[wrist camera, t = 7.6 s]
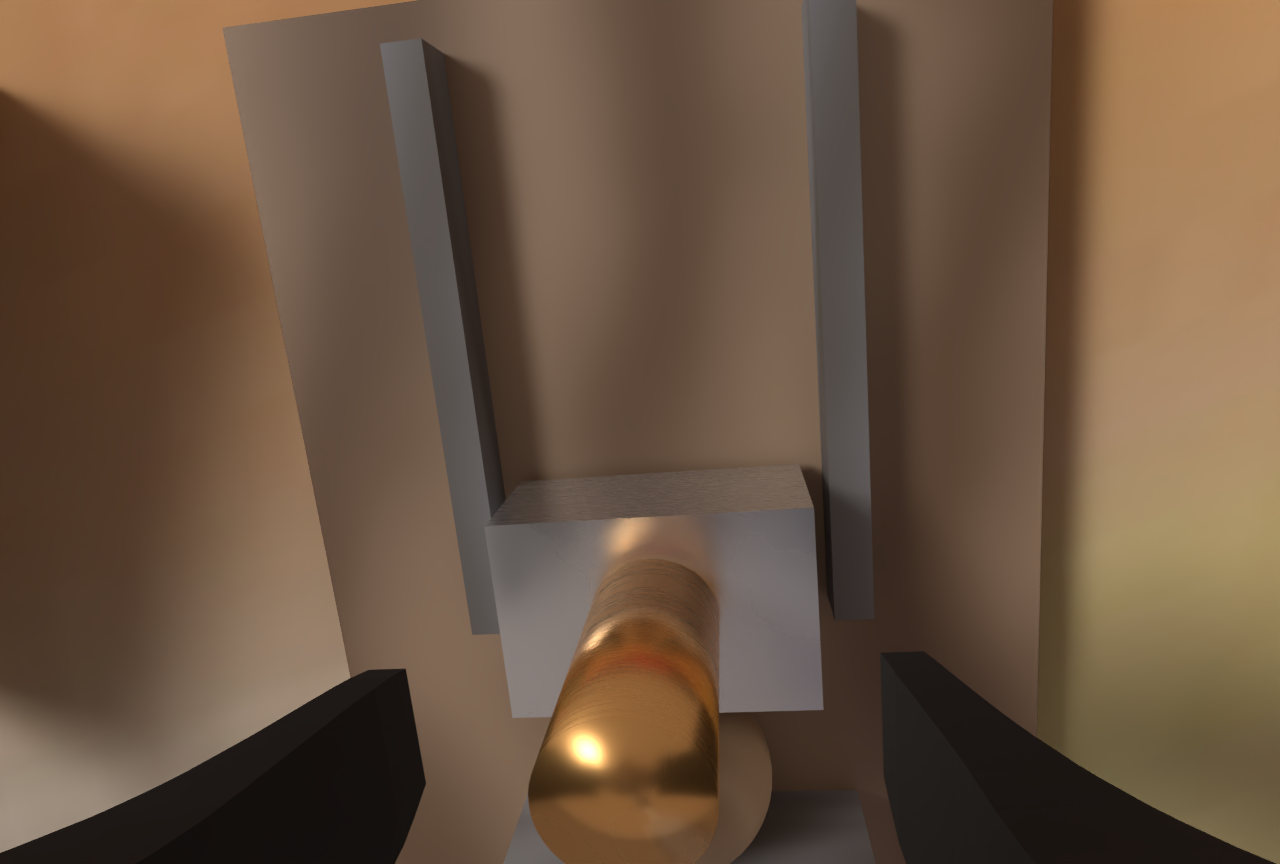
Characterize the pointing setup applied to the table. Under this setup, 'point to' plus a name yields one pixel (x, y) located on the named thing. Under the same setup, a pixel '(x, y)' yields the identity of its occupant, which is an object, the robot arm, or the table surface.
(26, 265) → the table surface
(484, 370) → the press bench
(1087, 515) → the table surface
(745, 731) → the tan oval solid
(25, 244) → the table surface
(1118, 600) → the table surface
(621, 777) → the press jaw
